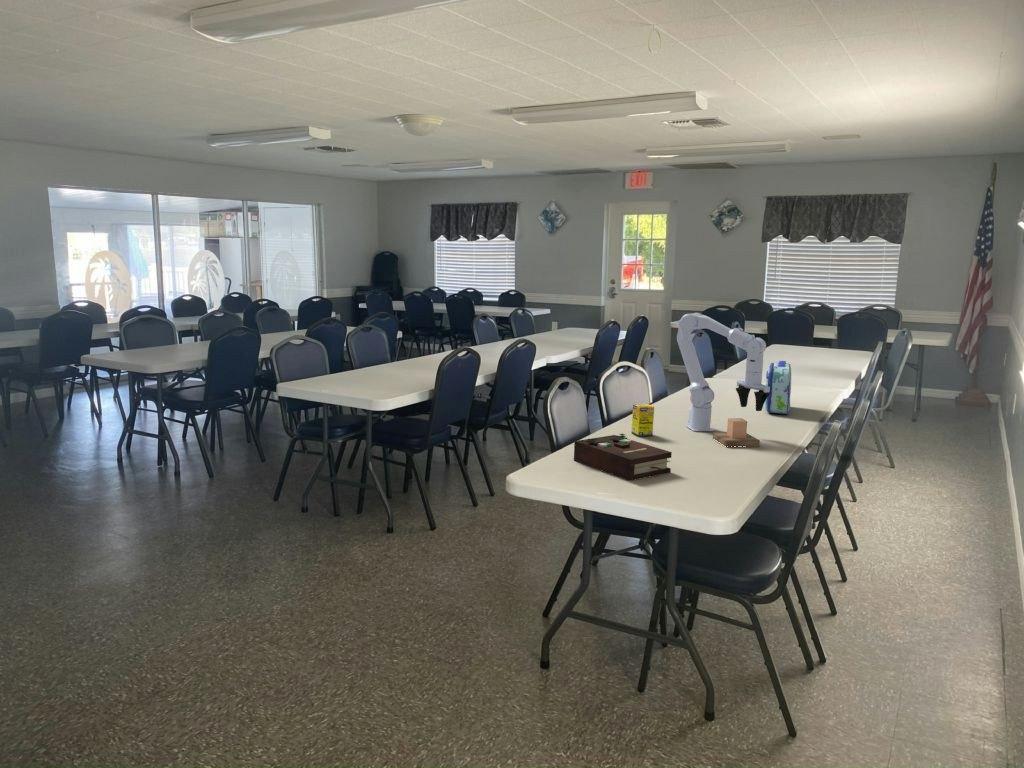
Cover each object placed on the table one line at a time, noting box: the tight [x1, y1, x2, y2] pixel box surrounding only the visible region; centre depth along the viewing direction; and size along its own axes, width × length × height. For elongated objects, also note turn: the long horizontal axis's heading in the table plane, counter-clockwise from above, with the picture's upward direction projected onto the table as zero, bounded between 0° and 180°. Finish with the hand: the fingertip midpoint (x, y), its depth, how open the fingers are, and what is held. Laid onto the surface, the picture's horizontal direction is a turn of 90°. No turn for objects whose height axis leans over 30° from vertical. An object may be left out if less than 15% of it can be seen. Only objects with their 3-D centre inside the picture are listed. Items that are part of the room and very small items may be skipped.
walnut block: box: [712, 431, 760, 448], centre depth 266 cm, size 12×12×3 cm
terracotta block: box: [726, 417, 748, 438], centre depth 265 cm, size 5×5×6 cm
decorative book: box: [573, 433, 672, 482], centre depth 232 cm, size 19×8×30 cm
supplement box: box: [631, 403, 655, 438], centre depth 274 cm, size 6×6×11 cm
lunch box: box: [764, 360, 792, 415], centre depth 324 cm, size 26×11×21 cm, turn 160°
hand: (751, 408), depth 274 cm, fingers open, 7 cm apart
